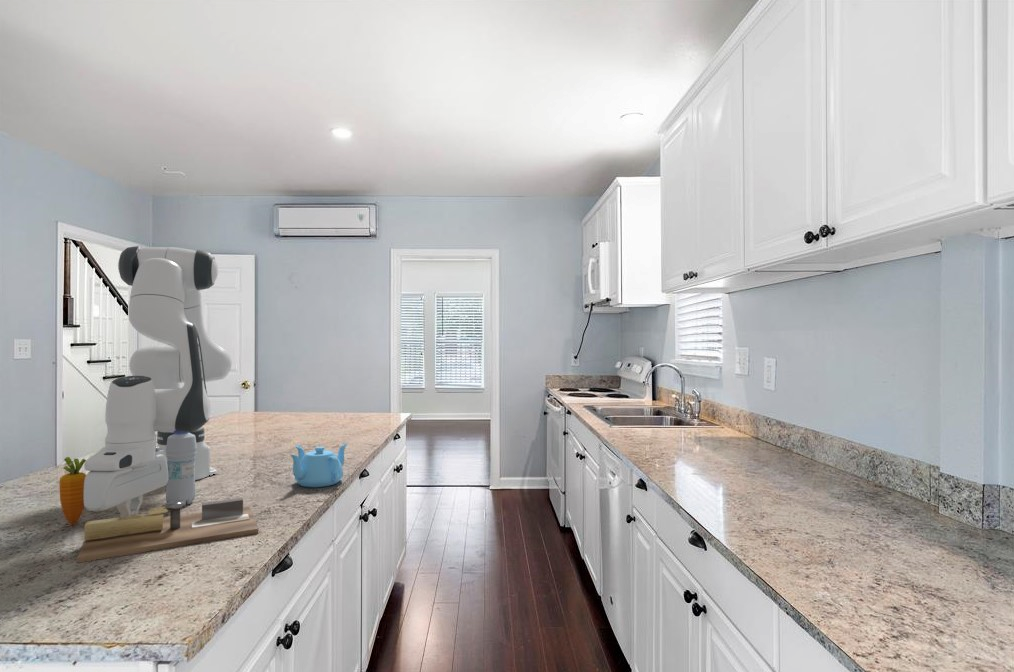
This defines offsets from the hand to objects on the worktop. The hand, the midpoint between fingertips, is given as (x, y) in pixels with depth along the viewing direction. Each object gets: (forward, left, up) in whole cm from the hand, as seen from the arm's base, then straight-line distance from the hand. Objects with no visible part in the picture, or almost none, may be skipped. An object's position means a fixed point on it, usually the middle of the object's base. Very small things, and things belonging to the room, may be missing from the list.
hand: (129, 519), depth 113 cm
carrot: (-11, -11, -3) cm, 16 cm away
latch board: (+5, +8, -3) cm, 10 cm away
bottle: (-18, +9, -3) cm, 20 cm away
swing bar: (+5, +2, -1) cm, 6 cm away
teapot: (-22, +43, -3) cm, 48 cm away
